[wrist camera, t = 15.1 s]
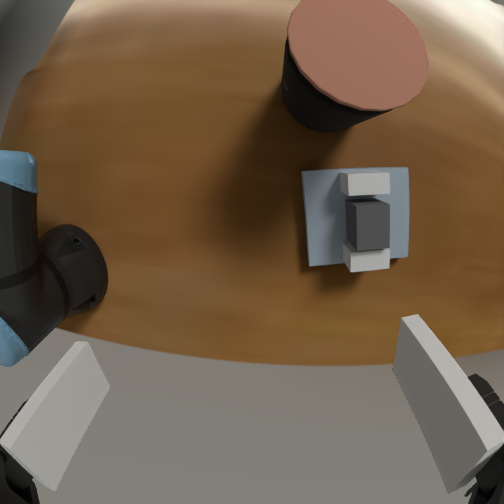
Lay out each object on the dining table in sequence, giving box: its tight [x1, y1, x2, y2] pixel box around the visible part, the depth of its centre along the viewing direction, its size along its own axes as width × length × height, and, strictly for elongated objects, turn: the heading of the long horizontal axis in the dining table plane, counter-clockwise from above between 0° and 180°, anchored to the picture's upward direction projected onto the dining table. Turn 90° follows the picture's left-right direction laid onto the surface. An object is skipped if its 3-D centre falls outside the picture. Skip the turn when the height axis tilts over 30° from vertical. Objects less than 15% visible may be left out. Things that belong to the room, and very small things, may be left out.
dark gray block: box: [345, 198, 390, 251], centre depth 32 cm, size 4×5×5 cm
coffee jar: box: [281, 0, 429, 132], centre depth 23 cm, size 11×11×18 cm
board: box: [301, 167, 409, 272], centre depth 33 cm, size 14×12×6 cm
